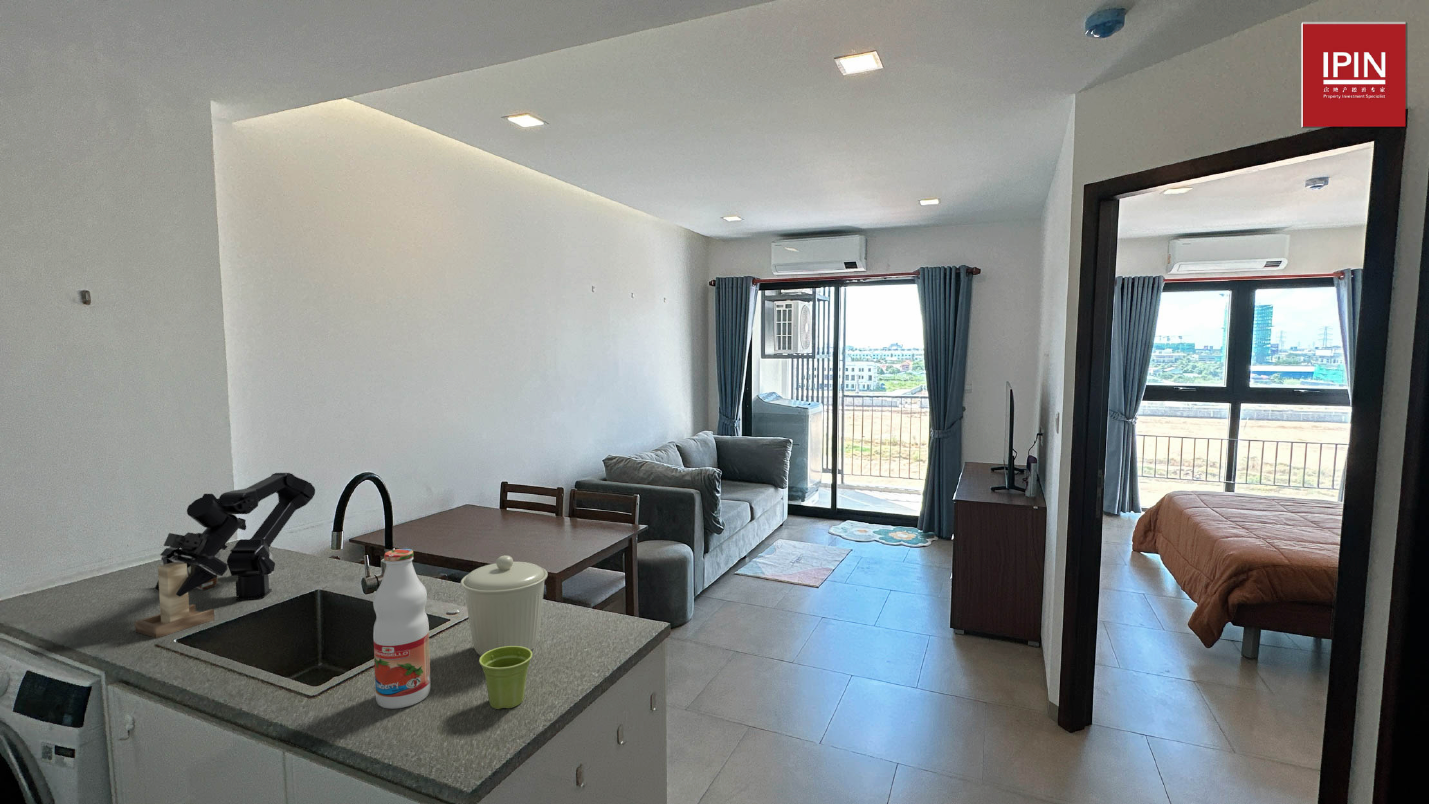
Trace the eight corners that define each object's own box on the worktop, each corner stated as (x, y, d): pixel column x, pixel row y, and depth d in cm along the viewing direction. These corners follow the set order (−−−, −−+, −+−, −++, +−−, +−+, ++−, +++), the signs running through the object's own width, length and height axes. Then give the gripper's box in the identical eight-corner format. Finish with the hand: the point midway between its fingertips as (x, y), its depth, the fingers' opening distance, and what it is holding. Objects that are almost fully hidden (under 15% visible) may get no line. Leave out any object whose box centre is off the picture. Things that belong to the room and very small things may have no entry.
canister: (461, 641, 148) (458, 550, 147) (542, 627, 155) (540, 541, 154) (464, 675, 132) (461, 573, 130) (555, 659, 139) (553, 562, 138)
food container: (229, 584, 187) (228, 550, 186) (204, 591, 182) (202, 555, 181) (211, 577, 193) (209, 544, 193) (186, 583, 188) (184, 549, 188)
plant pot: (511, 684, 128) (510, 641, 128) (543, 698, 123) (542, 653, 122) (469, 704, 121) (468, 659, 120) (502, 720, 115) (501, 672, 115)
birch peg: (180, 617, 160) (177, 561, 159) (189, 619, 159) (186, 563, 158) (161, 623, 157) (157, 566, 156) (170, 625, 155) (167, 568, 154)
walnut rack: (193, 613, 165) (192, 604, 165) (214, 619, 161) (213, 609, 161) (135, 631, 154) (134, 621, 154) (156, 638, 150) (155, 627, 150)
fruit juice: (440, 686, 127) (436, 546, 126) (410, 712, 118) (405, 560, 116) (397, 683, 129) (392, 543, 127) (364, 707, 120) (358, 558, 118)
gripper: (167, 515, 164) (115, 571, 154) (211, 522, 156) (158, 582, 146) (204, 538, 171) (156, 593, 162) (247, 546, 163) (200, 604, 154)
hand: (167, 592), depth 156 cm, fingers open, 9 cm apart
